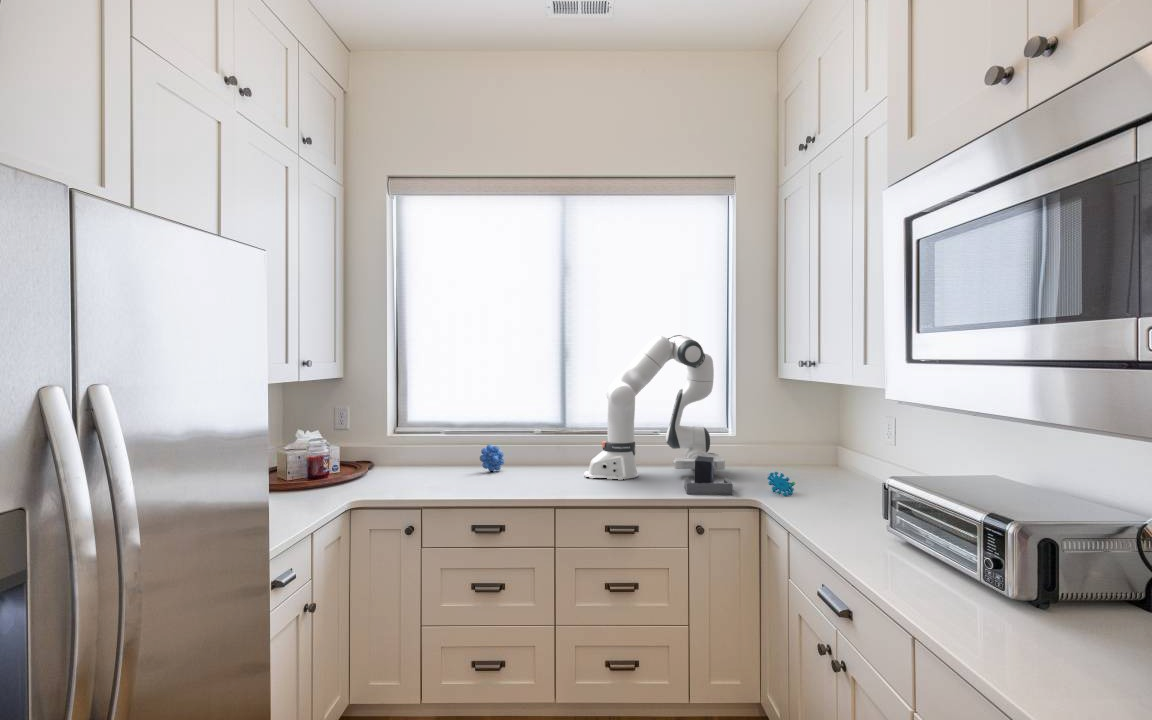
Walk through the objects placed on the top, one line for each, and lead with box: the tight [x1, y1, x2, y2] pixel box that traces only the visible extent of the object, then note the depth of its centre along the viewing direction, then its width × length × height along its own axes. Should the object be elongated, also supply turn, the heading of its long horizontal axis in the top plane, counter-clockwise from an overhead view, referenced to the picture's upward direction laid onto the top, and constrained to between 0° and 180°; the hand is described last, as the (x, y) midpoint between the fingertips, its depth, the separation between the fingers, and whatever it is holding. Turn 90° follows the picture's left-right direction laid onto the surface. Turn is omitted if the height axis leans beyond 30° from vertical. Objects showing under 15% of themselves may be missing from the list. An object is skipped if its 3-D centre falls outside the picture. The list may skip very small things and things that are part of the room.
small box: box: [693, 456, 715, 483], centre depth 227 cm, size 11×6×10 cm, turn 161°
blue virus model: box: [767, 471, 796, 497], centre depth 214 cm, size 11×6×10 cm
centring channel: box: [683, 477, 733, 496], centre depth 217 cm, size 16×10×4 cm, turn 85°
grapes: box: [479, 444, 505, 472], centre depth 256 cm, size 12×7×12 cm, turn 126°
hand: (701, 467), depth 235 cm, fingers closed
